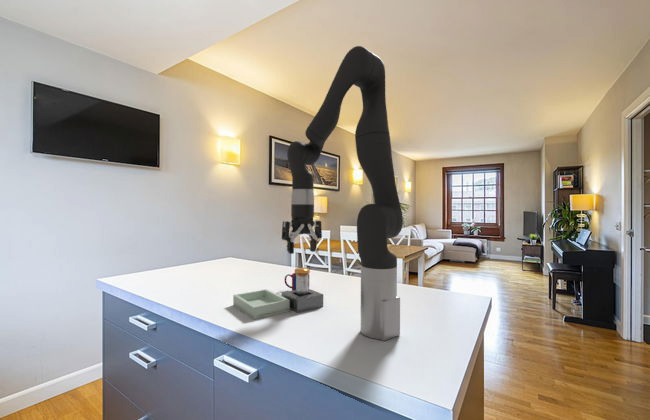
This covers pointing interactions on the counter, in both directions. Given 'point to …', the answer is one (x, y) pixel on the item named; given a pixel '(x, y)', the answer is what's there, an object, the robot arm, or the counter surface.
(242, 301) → the tray
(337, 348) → the counter surface
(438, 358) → the counter surface
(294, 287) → the mug
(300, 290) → the pin
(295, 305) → the block
